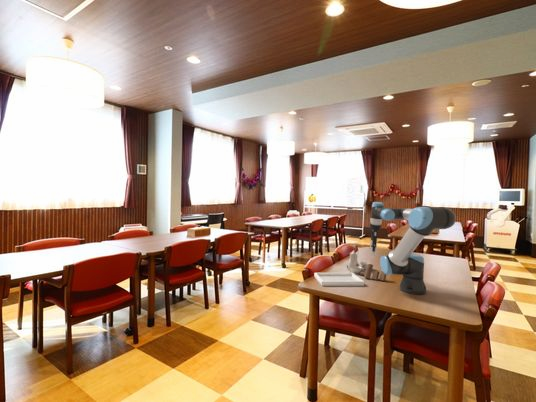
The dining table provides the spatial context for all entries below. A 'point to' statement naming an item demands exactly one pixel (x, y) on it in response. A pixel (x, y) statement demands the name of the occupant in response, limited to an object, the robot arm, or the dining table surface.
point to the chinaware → (355, 263)
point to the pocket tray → (338, 279)
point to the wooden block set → (375, 274)
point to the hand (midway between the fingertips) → (372, 252)
